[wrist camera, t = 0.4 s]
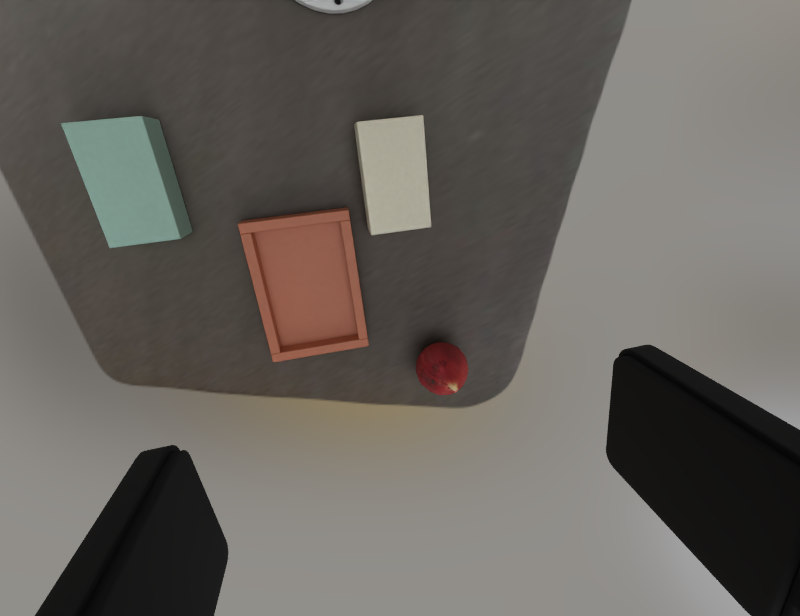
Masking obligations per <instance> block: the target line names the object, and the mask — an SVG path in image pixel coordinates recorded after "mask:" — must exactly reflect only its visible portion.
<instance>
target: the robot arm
mask: <svg viewBox="0 0 800 616" xmlns="http://www.w3.org/2000/svg"><path fill="white" fill-rule="evenodd" d="M295 1H297V2H298V3H299V4H301V5H303V6H306V7H308V8H310V9H312V10H315V11H319V12H324V13H328V14H337V13H347V12H351V11H355V10H357V9H359V8H361V7H363V6H365V5H367V4H369V3H370V2H371V1H372V0H340V1H341V4H340V5H337V4H336V3H335V0H295ZM606 453H607V457H608V460H609V462H610V463H611V465H612V466H613V468H614V469H615V470H616V471H617V472H618V473H619V474H620V475H621V476H622V477H623V478H624V479H625V481H626V482H627V483H628V484H629V485H630V486H631V487H632V488H633V489H634V490H635V491H636V492H637V494H638V495H639V496H640V497H641V498H642V499H643V500H644V501H645V502H646V503H647V504H648V505H649V506H650V508H651V509H652V510H653V511H654V512H655V513H656V514H657V515H658V516H659V517H660V518H661V520H662V521H663V522H664V523H665V524H666V525H667V526H668V527H669V528H670V529H671V530H672V531H673V533H675V535H676V536H677V537H678V538H679V539H680V540H681V541H682V542H683V543H684V544H685V546H686V547H687V548H688V549H689V550H690V551H691V552H692V553H693V554H694V555H695V556H696V557H697V558H698V560H699V561H700V562H701V563H702V564H703V565H704V566H705V567H706V568H707V569H708V570H709V571H710V573H711V574H712V575H713V576H714V577H715V578H716V579H717V580H718V581H719V582H720V583H721V584H722V586H723V587H724V588H725V589H726V590H727V591H728V592H729V593H730V594H731V595H732V596H733V597H734V598H735V600H736V601H737V602H738V603H739V604H740V605H741V606H742V607H743V608H744V609H745V610H746V611H747V612H748V613H749V614H750V615H751V616H800V430H799V429H797V428H795V427H794V426H792V425H790V424H788V423H787V422H785V421H783V420H781V419H780V418H778V417H776V416H774V415H773V414H771V413H769V412H767V411H765V410H764V409H762V408H760V407H759V406H757V405H755V404H753V403H752V402H750V401H748V400H747V399H745V398H743V397H741V396H739V395H738V394H736V393H734V392H733V391H731V390H729V389H727V388H726V387H724V386H722V385H721V384H719V383H717V382H715V381H714V380H712V379H710V378H708V377H706V376H705V375H703V374H701V373H700V372H698V371H696V370H694V369H693V368H691V367H689V366H687V365H686V364H684V363H682V362H680V361H679V360H677V359H675V358H673V357H672V356H670V355H668V354H667V353H665V352H663V351H661V350H659V349H658V348H656V347H654V346H652V345H643V346H638V347H634V348H629V349H624V350H623V351H621V353H620V354H619V357H618V358H616V359H615V361H614V364H613V376H612V387H611V399H610V410H609V423H608V434H607V445H606ZM227 560H228V546H227V542H226V539H225V537H224V534H223V532H222V530H221V527H220V525H219V523H218V520H217V518H216V515H215V513H214V511H213V508H212V506H211V504H210V501H209V499H208V497H207V494H206V492H205V489H204V487H203V485H202V482H201V480H200V478H199V475H198V473H197V471H196V468H195V466H194V464H193V461H192V459H191V457H190V455H189V453H188V452H187V451H185V450H182V451H180V450H179V448H178V447H177V446H174V445H171V446H166V447H161V448H156V449H152V450H147V451H143V452H141V453H140V454H139V455H138V457H137V458H136V459H135V461H134V462H133V464H132V465H131V467H130V469H129V470H128V472H127V473H126V475H125V476H124V478H123V479H122V481H121V483H120V484H119V486H118V487H117V489H116V491H115V492H114V493H113V495H112V497H111V498H110V500H109V501H108V503H107V505H106V506H105V508H104V509H103V511H102V512H101V514H100V515H99V517H98V518H97V520H96V522H95V523H94V525H93V526H92V528H91V529H90V531H89V532H88V534H87V535H86V537H85V539H84V540H83V542H82V543H81V545H80V546H79V548H78V550H77V551H76V553H75V554H74V556H73V557H72V559H71V561H70V562H69V563H68V565H67V567H66V568H65V570H64V571H63V573H62V574H61V576H60V577H59V579H58V581H57V582H56V584H55V585H54V587H53V589H52V590H51V592H50V593H49V595H48V596H47V598H46V599H45V601H44V602H43V604H42V605H41V607H40V609H39V610H38V612H37V613H36V615H35V616H214V613H215V609H216V605H217V601H218V597H219V593H220V589H221V585H222V581H223V577H224V573H225V569H226V565H227Z"/></svg>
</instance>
